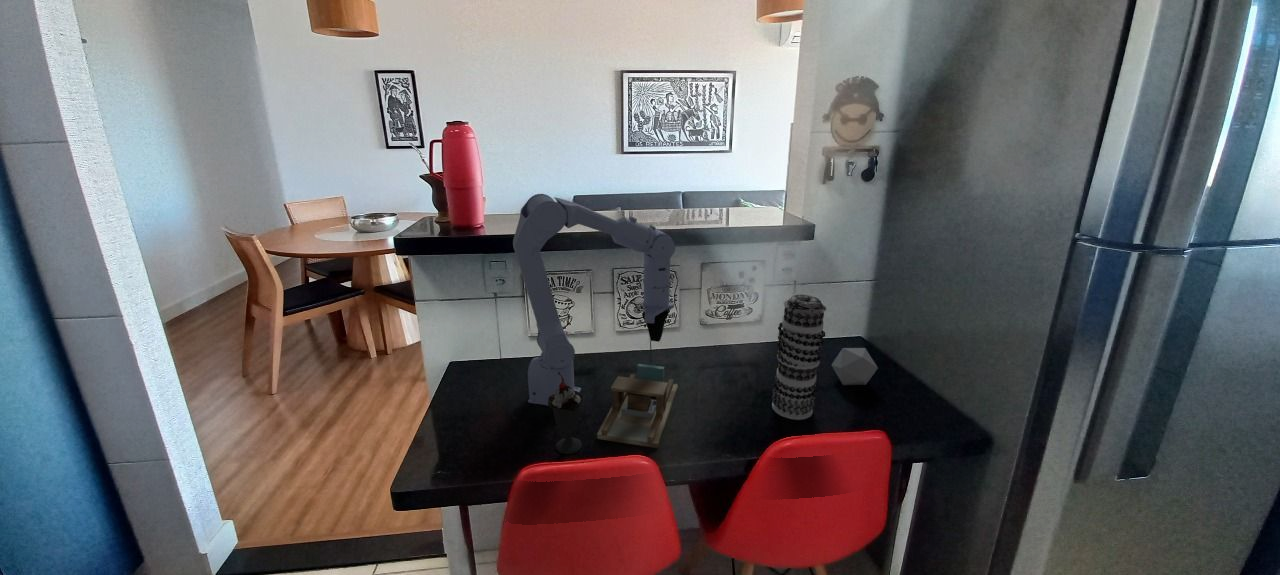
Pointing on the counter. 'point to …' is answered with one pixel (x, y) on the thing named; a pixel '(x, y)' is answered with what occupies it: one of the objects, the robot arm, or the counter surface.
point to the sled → (646, 374)
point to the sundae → (566, 416)
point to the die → (854, 366)
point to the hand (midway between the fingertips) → (655, 339)
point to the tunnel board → (632, 426)
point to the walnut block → (639, 402)
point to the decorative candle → (798, 356)
